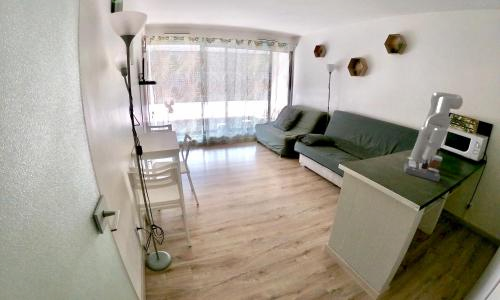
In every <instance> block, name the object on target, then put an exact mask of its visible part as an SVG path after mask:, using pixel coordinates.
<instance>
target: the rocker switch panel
mask: <svg viewBox="0 0 500 300" xmlns="http://www.w3.org/2000/svg"><path fill="white" fill-rule="evenodd" d="M403 171H404V173H406V174H408V175H412V176H416V177H420V178H423V179H426V180H430V181H434V182H440V180H441V177H442V176H440V173H439V172H435V171H431V170H429V169H427V171H426V172H425V171H422V170H420V169H419V165H416V169H414V168H410V167H409V163H407V162H405V163H404V166H403Z"/></svg>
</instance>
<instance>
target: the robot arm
mask: <svg viewBox="0 0 500 300" xmlns="http://www.w3.org/2000/svg"><path fill="white" fill-rule="evenodd" d="M463 102H464V100H463V98H462V96H461V95H460V94H456V93H447V92H440V91H438V92H437V91H436V92H434V93H432V95H431V98H430V109H429V110H428V113H427V116H426V119H425V121H424V122H423V125H422V126H421V127H420V128H419V131H418V136H417V137H416V141H415V144H414V147H413V149H412V150H411V151H412V152H411V154H410V155H409V156H407V159H408V161H409V160H411V161H415V162H416V164H417V163H418V164H419V163H423V164H422V166H421V168H422V169H427V167H428V165H429V163H430V161H431V162H432V161H433V159H434V157H435V155H437V151H438V150H440V149H441V146H442V144H443V142H444V140H445V137H446V136H447V134H448V129H449V127H450V124H451V122H452V119H451V116H449V115H450V111H451V110H459V109H461V107H462V106H463Z"/></svg>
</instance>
